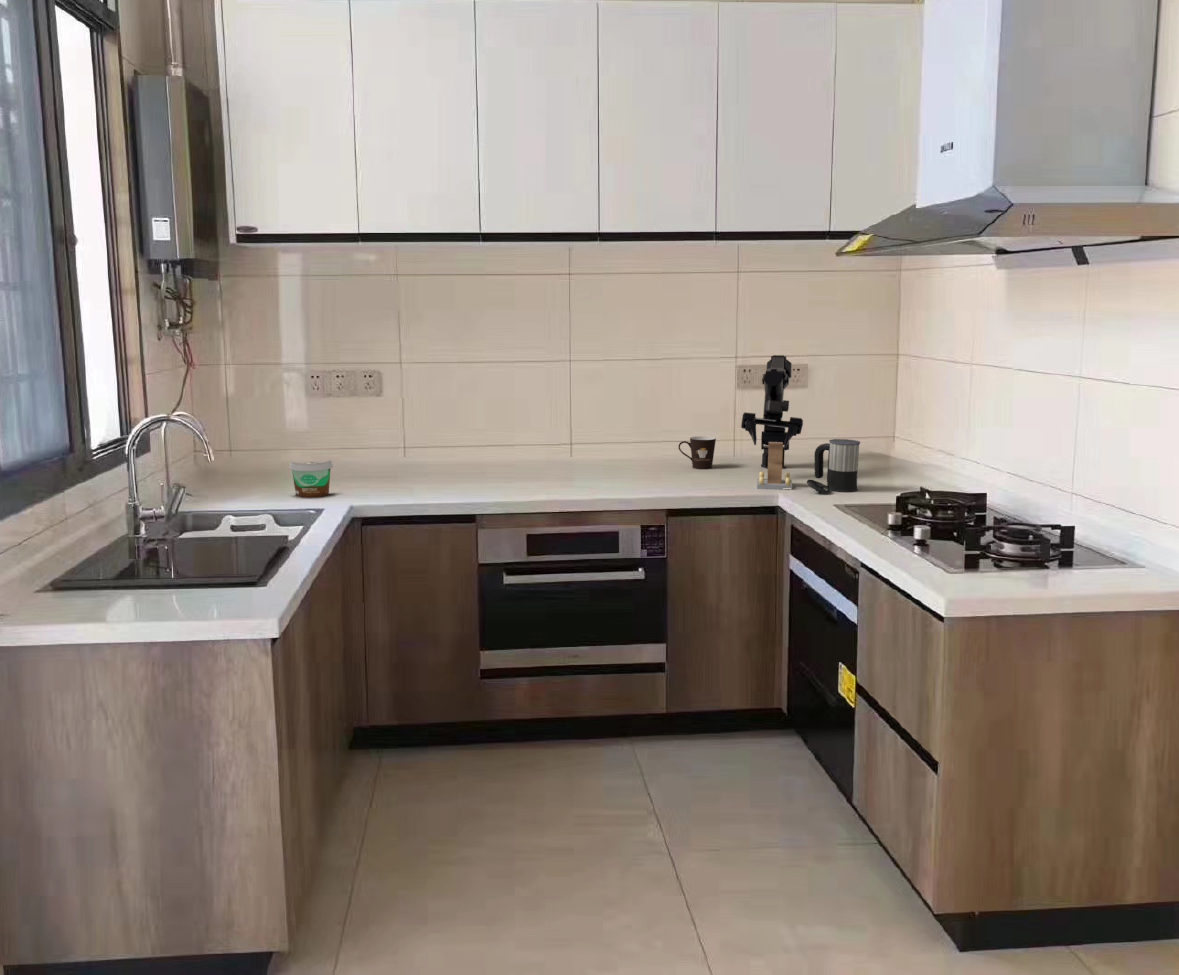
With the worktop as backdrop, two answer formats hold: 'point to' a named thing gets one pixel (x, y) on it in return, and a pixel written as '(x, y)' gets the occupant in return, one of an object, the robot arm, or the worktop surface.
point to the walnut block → (775, 462)
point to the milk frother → (837, 466)
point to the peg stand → (764, 485)
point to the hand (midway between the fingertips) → (770, 446)
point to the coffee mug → (701, 451)
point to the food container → (311, 478)
